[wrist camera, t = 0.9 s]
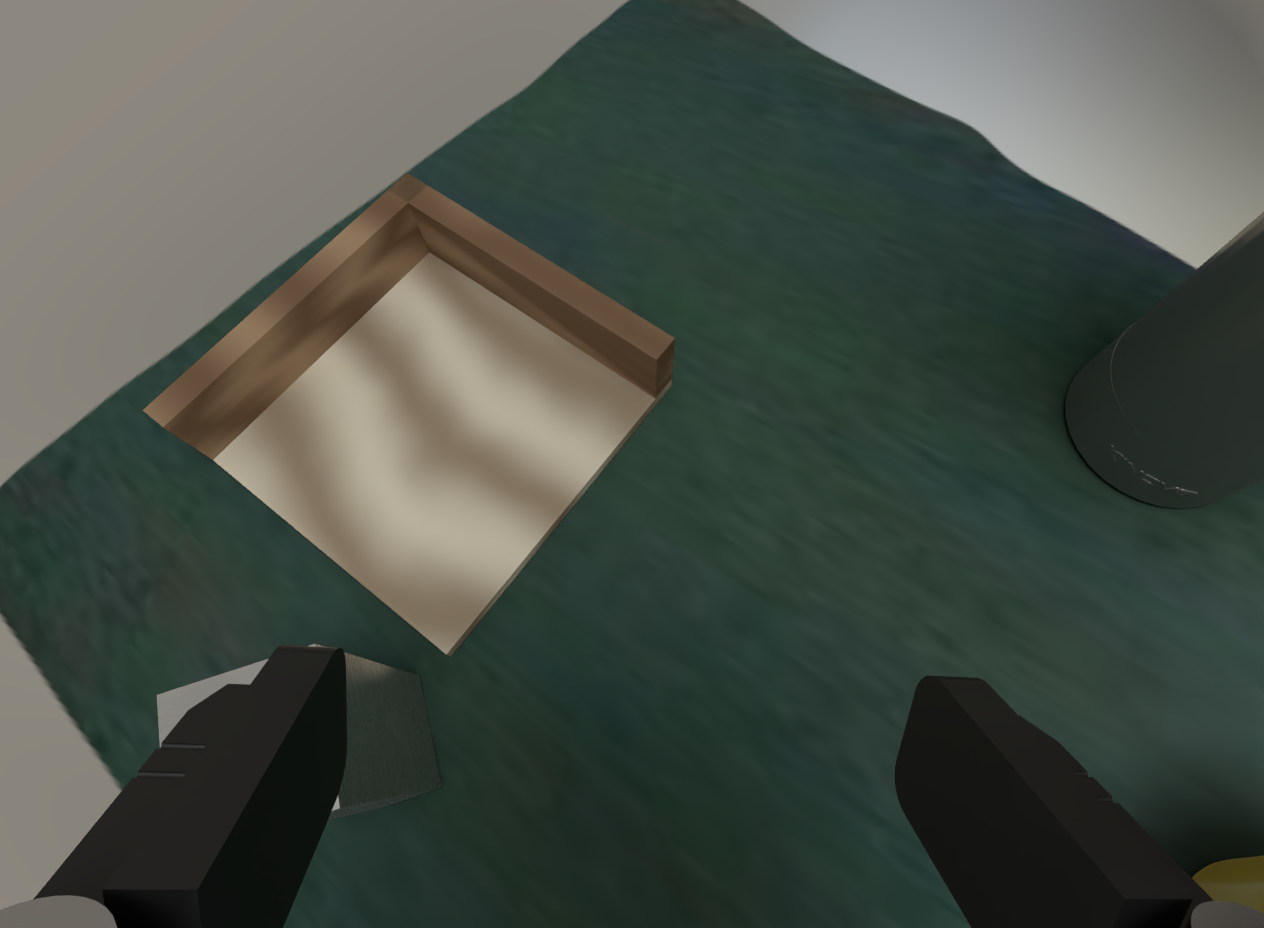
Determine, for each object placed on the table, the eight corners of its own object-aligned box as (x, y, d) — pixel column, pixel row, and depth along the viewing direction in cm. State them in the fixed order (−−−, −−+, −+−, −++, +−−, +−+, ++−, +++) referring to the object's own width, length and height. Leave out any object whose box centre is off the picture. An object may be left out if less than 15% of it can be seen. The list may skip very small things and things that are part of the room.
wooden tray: (432, 233, 42) (407, 173, 38) (671, 385, 38) (674, 338, 33) (203, 450, 37) (142, 410, 32) (450, 656, 33) (420, 642, 28)
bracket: (419, 675, 32) (314, 643, 22) (442, 786, 30) (339, 808, 20) (313, 711, 32) (156, 694, 22) (330, 826, 30) (167, 868, 20)
